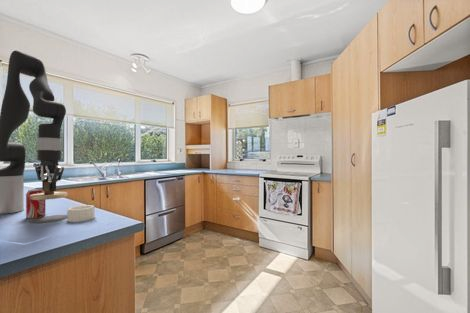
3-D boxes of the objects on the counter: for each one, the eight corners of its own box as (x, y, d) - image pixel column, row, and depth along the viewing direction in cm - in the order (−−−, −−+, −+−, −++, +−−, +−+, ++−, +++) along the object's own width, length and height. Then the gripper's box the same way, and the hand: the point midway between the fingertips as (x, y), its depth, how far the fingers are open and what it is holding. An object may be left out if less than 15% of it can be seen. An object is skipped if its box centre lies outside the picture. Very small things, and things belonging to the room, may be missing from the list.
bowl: (62, 221, 90) (62, 209, 90) (83, 215, 99) (83, 204, 99) (79, 223, 87) (79, 210, 87) (99, 217, 96) (99, 205, 96)
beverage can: (34, 219, 93) (33, 191, 93) (22, 219, 94) (22, 190, 94) (49, 216, 99) (49, 188, 99) (37, 215, 100) (37, 188, 100)
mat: (20, 223, 88) (20, 222, 88) (55, 214, 101) (55, 214, 101) (44, 225, 85) (44, 224, 85) (77, 216, 97) (77, 216, 97)
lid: (21, 198, 89) (22, 183, 89) (54, 193, 100) (54, 179, 100) (43, 200, 85) (43, 184, 85) (74, 195, 97) (74, 181, 97)
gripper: (27, 148, 91) (26, 191, 91) (51, 149, 87) (51, 193, 87) (47, 149, 98) (47, 188, 98) (71, 149, 94) (70, 190, 94)
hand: (49, 190), depth 93 cm, fingers closed on lid, 3 cm apart
